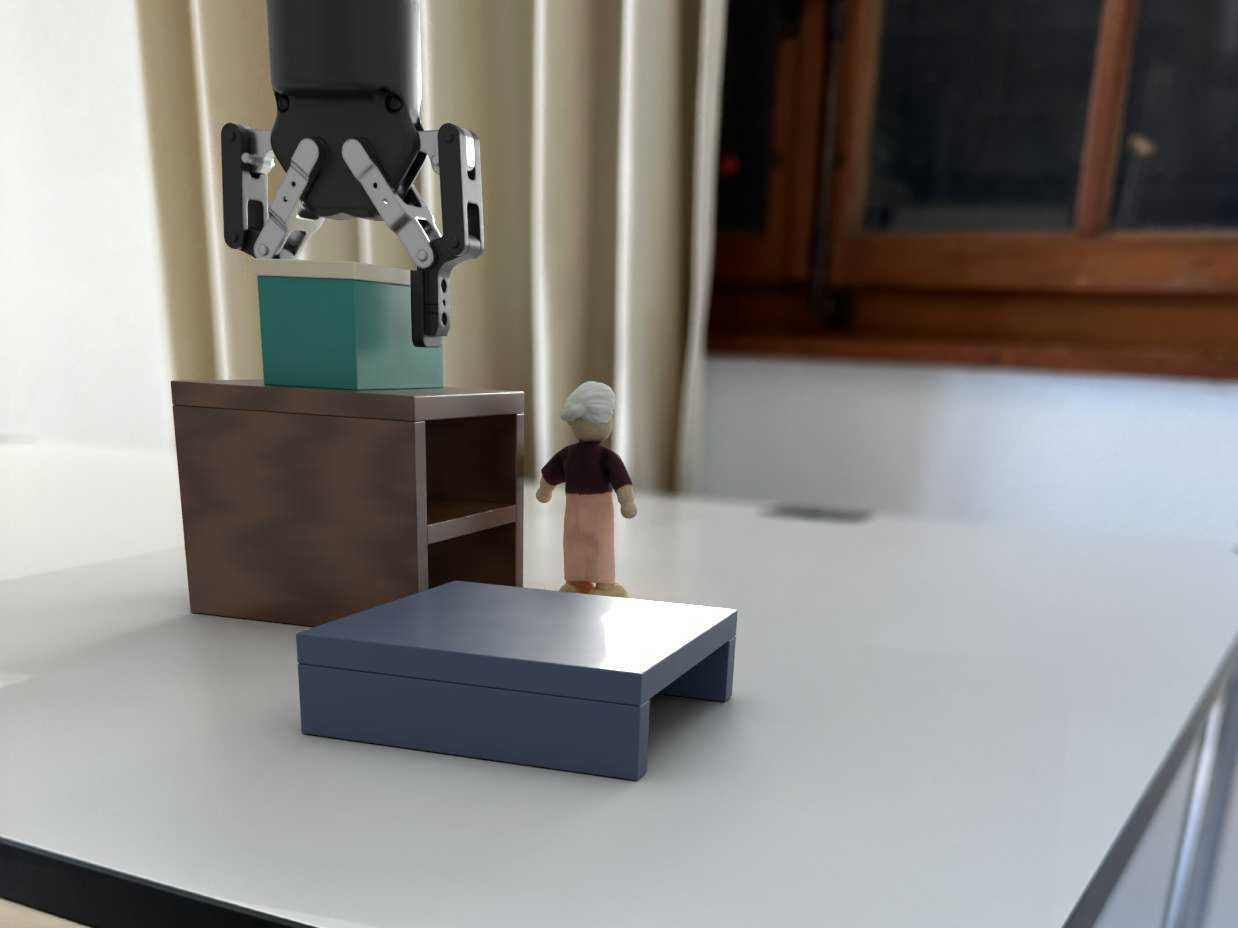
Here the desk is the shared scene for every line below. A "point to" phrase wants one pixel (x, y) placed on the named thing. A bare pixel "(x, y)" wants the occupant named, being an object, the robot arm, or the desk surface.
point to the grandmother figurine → (589, 492)
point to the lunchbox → (340, 327)
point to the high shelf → (344, 495)
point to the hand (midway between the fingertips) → (356, 344)
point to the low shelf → (513, 674)
